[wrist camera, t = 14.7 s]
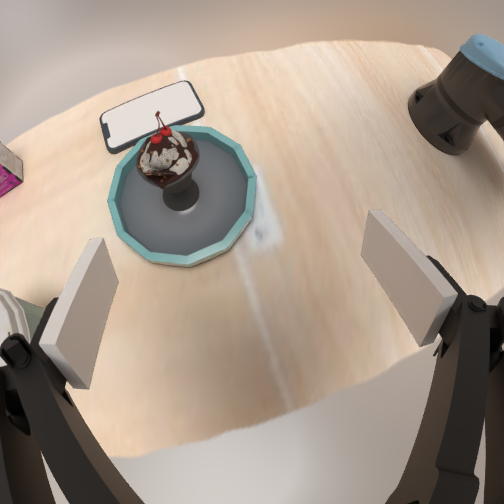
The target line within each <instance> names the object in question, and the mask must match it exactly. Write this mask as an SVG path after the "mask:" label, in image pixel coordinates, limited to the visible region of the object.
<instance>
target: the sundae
mask: <svg viewBox="0 0 504 504" xmlns="http://www.w3.org/2000/svg"><path fill="white" fill-rule="evenodd" d="M159 114H160V111H157V112H156V114H155V116H156V118H157V120H158V124H159V125H158V130H157V133H156V134H153V135H152V136H150V137H148V138H147V139H146V140H145V141H144V143H143V144H142V146H141V147H140V149H139V151H138V154H137V158H136V168H137V171H138V173H139V175H140V176H141V177H142V178H143V179H144V180H145V181H146V182H148V183H149V184H151V185H153V186H156V187H159V188H161V189H163V200H164V203H165V204H166V206H167V207H168V208H170V209H172V210H174V211H184V210H187V209H190V208H191V207H192V206H193V205H195V203H196V202H197V200H198V198H199V187H198V185H197V183H196V182H195V181H194V180H193V179H191V178H192V171H193V170H194V169H195V168H196V166H197V165H198V162H199V158H200V151H199V148H198V145H197V143H196V141H195V140H194V139H193V137H191V136H190V135H189V134H187V133H185V132H181V131H173V130H171V128H170V127H167V126H165V125H164V123H163V121H162V120H161V118H160V117H159ZM158 118H159V119H160V121H161V123H162V125H163V127H162V128H161V129H160V131H159V128H160V123H159V119H158ZM158 132H159V133H158Z"/></svg>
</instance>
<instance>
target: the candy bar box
mask: <svg viewBox="0 0 504 504" xmlns="http://www.w3.org/2000/svg"><path fill="white" fill-rule="evenodd" d="M22 182H23V171H22V160H20V159H19V158H18V157H17V156H16V155H15V154H14V153H12V152H11V151H10V150H9V149H8V148H7V147H6V146H4V145H3V144H2V143H1V142H0V197H1V196H3V195H4V194H5V193H7V192H8V191H10V190H11V189H13V188H14V187H16V186H17V185H19V184H20V183H22Z"/></svg>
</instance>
